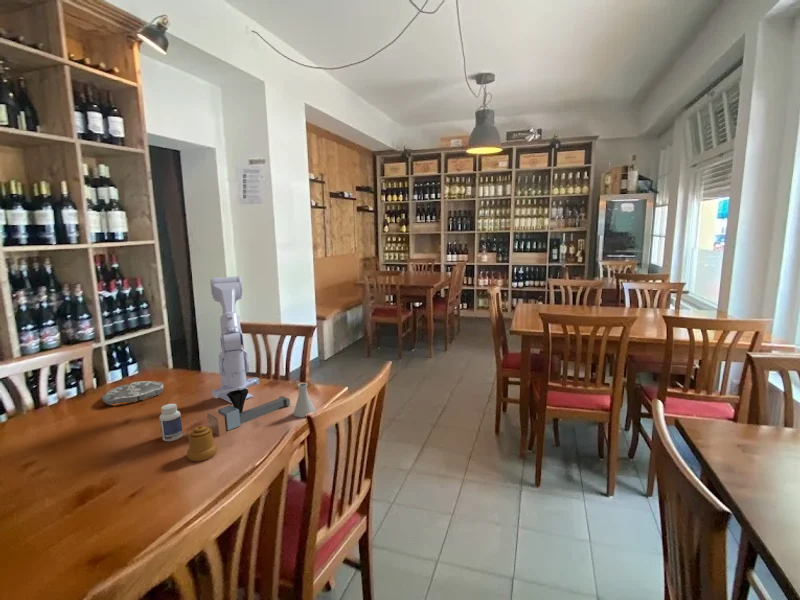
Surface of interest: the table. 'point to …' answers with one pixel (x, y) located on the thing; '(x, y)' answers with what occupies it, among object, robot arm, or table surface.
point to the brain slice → (133, 392)
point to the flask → (303, 402)
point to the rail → (244, 414)
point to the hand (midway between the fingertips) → (239, 412)
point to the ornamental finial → (201, 444)
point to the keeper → (230, 416)
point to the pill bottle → (170, 423)
